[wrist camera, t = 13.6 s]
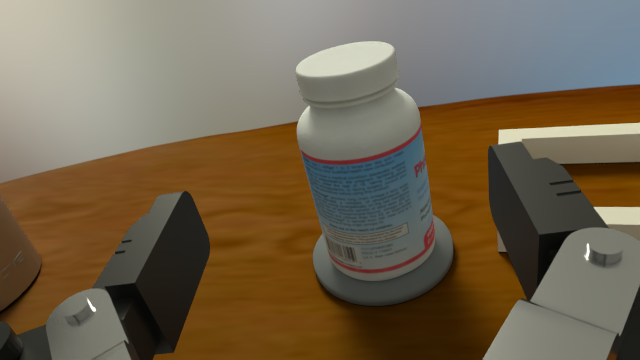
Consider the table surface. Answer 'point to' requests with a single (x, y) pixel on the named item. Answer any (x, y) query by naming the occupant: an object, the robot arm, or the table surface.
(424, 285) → the coaster
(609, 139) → the holder
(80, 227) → the table surface
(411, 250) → the pill bottle
